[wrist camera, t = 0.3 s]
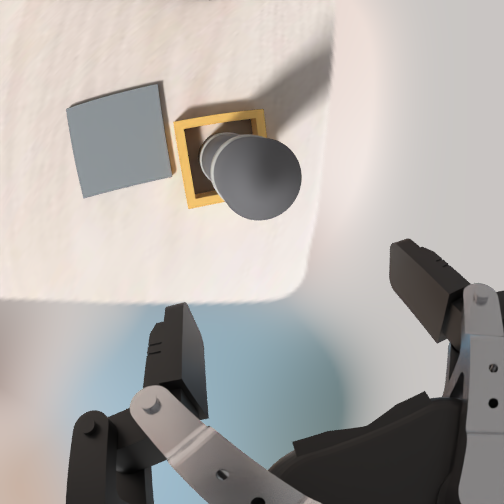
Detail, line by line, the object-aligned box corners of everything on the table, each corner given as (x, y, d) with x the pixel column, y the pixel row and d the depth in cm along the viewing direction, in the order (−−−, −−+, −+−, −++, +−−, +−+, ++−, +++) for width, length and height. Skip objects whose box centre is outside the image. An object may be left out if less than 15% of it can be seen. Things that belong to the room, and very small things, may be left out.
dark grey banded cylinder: (193, 136, 27) (211, 143, 15) (242, 128, 28) (299, 131, 16) (201, 183, 29) (225, 229, 17) (248, 175, 30) (306, 213, 18)
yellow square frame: (173, 122, 26) (173, 121, 24) (257, 109, 28) (263, 108, 26) (187, 203, 30) (188, 209, 28) (267, 188, 31) (273, 192, 29)
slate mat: (68, 109, 23) (66, 108, 22) (157, 84, 24) (157, 84, 24) (85, 197, 27) (83, 198, 26) (172, 175, 28) (172, 176, 28)
